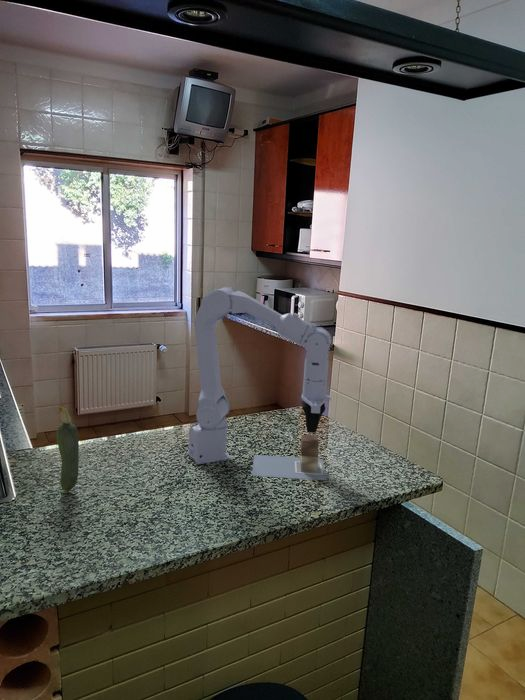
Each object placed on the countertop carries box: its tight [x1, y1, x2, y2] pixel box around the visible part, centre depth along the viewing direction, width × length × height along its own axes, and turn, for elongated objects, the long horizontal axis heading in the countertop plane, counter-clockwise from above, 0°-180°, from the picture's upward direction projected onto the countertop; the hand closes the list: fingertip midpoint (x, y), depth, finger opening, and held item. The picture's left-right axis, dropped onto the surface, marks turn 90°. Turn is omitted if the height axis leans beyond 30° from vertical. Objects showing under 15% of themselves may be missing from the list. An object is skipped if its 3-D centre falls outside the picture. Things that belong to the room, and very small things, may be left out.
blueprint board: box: [251, 454, 327, 481], centre depth 127 cm, size 18×12×1 cm, turn 88°
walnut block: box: [300, 434, 320, 458], centre depth 126 cm, size 4×4×4 cm
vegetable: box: [56, 406, 80, 494], centre depth 108 cm, size 4×4×20 cm
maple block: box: [300, 455, 319, 472], centre depth 126 cm, size 4×4×4 cm
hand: (311, 431), depth 125 cm, fingers closed
